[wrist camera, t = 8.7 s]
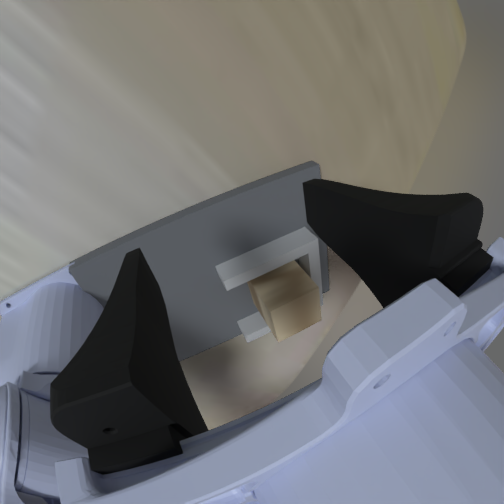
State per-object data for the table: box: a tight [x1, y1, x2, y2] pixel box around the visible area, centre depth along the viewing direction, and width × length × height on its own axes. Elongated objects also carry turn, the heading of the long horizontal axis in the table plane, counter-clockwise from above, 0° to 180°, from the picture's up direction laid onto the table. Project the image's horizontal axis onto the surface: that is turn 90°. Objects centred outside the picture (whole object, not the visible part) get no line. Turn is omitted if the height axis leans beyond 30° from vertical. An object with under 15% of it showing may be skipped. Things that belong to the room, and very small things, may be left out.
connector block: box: [247, 260, 321, 342], centre depth 25 cm, size 4×4×5 cm
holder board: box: [69, 161, 329, 361], centre depth 24 cm, size 20×14×3 cm
